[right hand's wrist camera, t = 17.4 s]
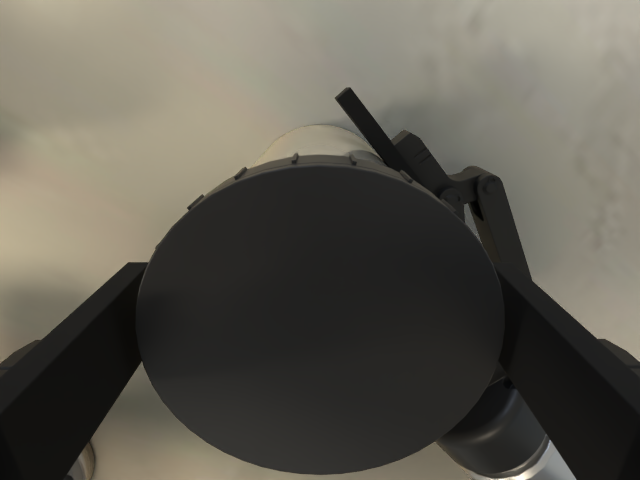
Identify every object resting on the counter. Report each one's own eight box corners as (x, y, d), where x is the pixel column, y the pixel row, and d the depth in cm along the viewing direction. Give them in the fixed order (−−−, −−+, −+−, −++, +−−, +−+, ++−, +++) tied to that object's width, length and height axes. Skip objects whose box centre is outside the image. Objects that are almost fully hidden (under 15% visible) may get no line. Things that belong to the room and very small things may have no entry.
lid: (97, 207, 11) (59, 227, 9) (461, 105, 10) (488, 109, 8) (224, 456, 15) (213, 500, 13) (498, 401, 14) (521, 441, 12)
